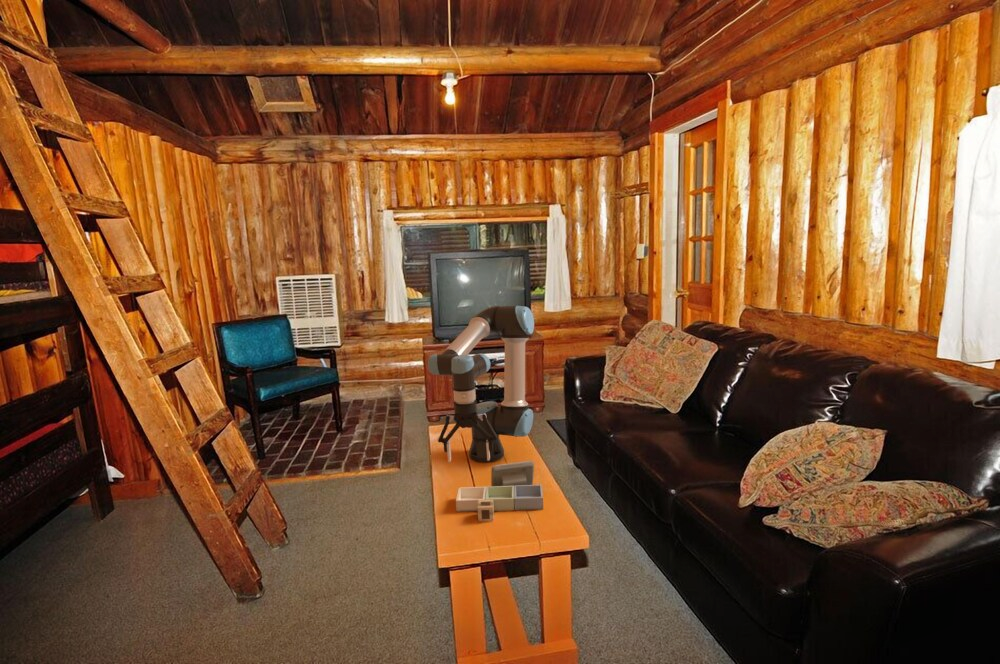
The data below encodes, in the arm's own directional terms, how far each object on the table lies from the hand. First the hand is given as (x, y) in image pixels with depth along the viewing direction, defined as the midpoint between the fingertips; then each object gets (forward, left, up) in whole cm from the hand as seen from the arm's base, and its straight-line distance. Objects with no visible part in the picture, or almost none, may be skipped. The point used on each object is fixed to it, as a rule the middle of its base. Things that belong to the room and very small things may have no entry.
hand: (469, 459), depth 183 cm
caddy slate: (0, +20, -17) cm, 26 cm away
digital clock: (-11, +15, -17) cm, 25 cm away
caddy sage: (0, +10, -17) cm, 19 cm away
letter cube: (+9, +6, -17) cm, 20 cm away
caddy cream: (0, 0, -17) cm, 17 cm away
